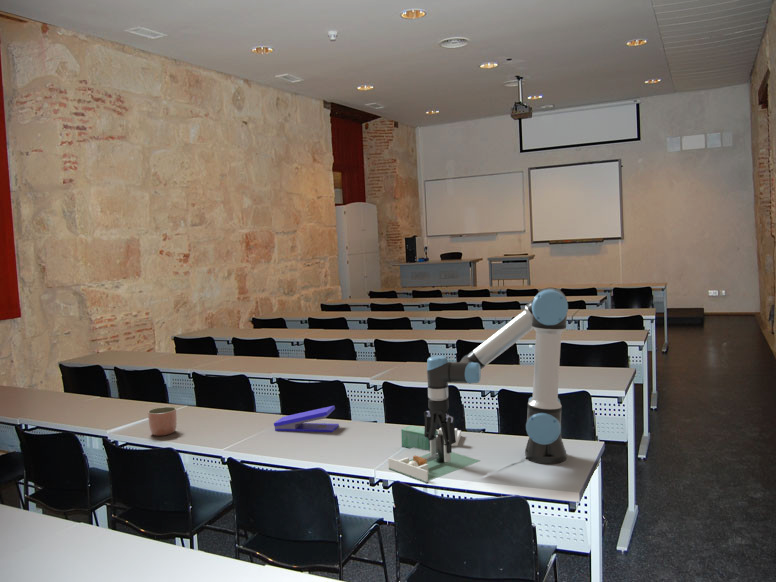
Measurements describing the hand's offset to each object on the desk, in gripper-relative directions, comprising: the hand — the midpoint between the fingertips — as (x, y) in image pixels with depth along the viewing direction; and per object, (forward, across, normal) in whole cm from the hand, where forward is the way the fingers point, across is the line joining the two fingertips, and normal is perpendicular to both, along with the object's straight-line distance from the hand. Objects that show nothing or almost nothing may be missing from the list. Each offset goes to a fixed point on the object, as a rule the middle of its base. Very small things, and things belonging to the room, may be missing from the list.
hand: (440, 458), depth 234 cm
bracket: (+2, +15, -21) cm, 26 cm away
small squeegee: (+1, 0, +5) cm, 5 cm away
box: (+2, +20, -9) cm, 22 cm away
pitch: (+2, 0, +3) cm, 4 cm away
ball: (-1, 0, +14) cm, 14 cm away
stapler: (+3, +79, +8) cm, 79 cm away
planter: (+2, +123, +57) cm, 136 cm away
